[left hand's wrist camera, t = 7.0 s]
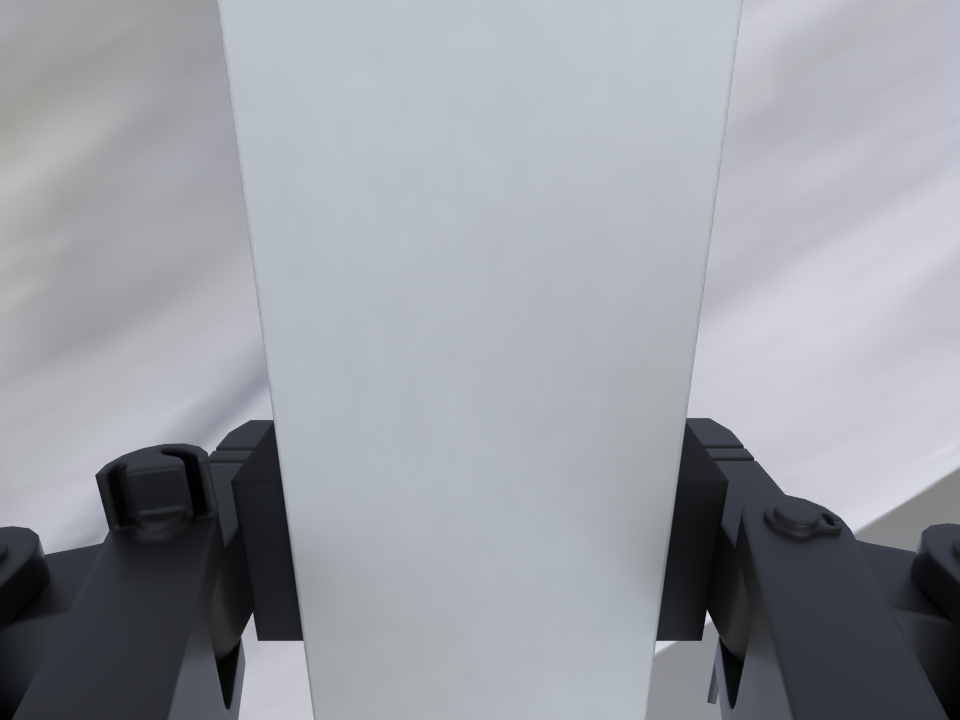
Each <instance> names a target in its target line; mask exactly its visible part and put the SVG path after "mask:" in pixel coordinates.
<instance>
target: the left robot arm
mask: <svg viewBox="0 0 960 720" xmlns="http://www.w3.org/2000/svg"><path fill="white" fill-rule="evenodd" d="M95 476H96V480H97V484H98V488H99V492H100V495H101V499H102V503H103V507H104V511H105V515H106V518H107V522H108V526H109V530H110V531H109V533H108V534H107V536H106V538H105V540H104V542H103V543H101V544H97V545H93V546H88V547H83V548H78V549H73V550H67V551H62V552H57V553H52V554H47V555H44V552H43V548H42V545H41V542H40V539H39V536H38V535H37V534H36V533H35V532H33V531H32V530H31V529H29V528H22V527H14V526H11V527H2V528H0V720H238V717H239V709H240V701H241V693H242V686H243V678H244V670H245V656H244V649H243V644H242V638H241V635H242V633H243V631H244V629H245V627H246V625H247V623H248V621H249V619H250V616H251V614H252V612H253V615H254V621H255V627H256V632H257V638H258V641H304V640H303V633H302V626H301V618H300V611H299V603H298V596H297V588H296V581H295V574H294V566H293V559H292V551H291V544H290V537H289V529H288V522H287V514H286V507H285V499H284V492H283V485H282V477H281V470H280V462H279V455H278V448H277V440H276V433H275V425H274V420H250V421H248V422H247V423H245V424H243V425H242V426H240V427H238V428H236V429H235V430H233V431H231V432H230V433H228V435H227V436H226V437H225V438H224V439H223V440H222V442H221V443H220V444H219V445H218V446H217V448H216V451H213V452H212V454H211V455H210V456H209V457H208V453H207V452H206V451H204V450H203V449H202V448H200V447H199V446H194V445H189V444H163V445H157V446H152V447H147V448H142V449H140V450H137V451H134V452H131V453H128V454H125V455H123V456H121V457H119V458H117V459H115V460H114V461H112V462H110V463H108V464H106V465H105V466H104V467H103V468H102V469H101V470H100V471H99V472H98V473H97V474H96V475H95ZM707 610H708V612H709V614H710V616H711V618H712V621H713V623H714V625H715V627H716V629H717V631H718V633H719V639H718V644H717V649H716V655H715V660H714V666H713V671H712V677H711V682H710V688H709V694H708V701H707V702H708V703H712V704H716V699H717V694H718V692H719V700H720V707H721V715H722V720H960V525H957V524H949V523H947V524H939V525H932V526H930V527H928V528H927V529H926V530H924V531H923V532H922V534H921V537H920V540H919V543H918V546H917V550H916V552H912V551H907V550H902V549H896V548H891V547H886V546H880V545H875V544H870V543H866V542H862V541H858V540H856V539H855V537H854V535H853V533H852V531H851V530H850V528H849V527H848V526H847V525H846V524H845V522H844V521H843V520H842V519H841V518H840V517H839V516H837V515H836V514H834V513H833V512H831V511H829V510H828V509H826V508H825V507H823V506H820V505H818V504H815V503H813V502H811V501H808V500H806V499H802V498H797V497H793V496H788V495H785V494H784V493H783V491H782V490H781V489H780V488H779V487H778V486H777V484H776V483H775V482H774V481H773V480H772V479H771V477H770V476H769V475H768V474H767V473H766V471H765V470H764V469H763V468H762V467H761V466H760V464H759V463H758V462H757V461H754V457H753V456H752V455H751V454H750V453H749V451H748V450H747V449H744V446H743V444H742V443H741V442H740V441H739V440H738V439H737V437H736V436H735V435H734V434H733V433H732V431H730V430H729V429H727V428H725V427H723V426H722V425H720V424H718V423H717V422H715V421H713V420H712V419H710V418H686V423H685V430H684V437H683V445H682V452H681V460H680V467H679V474H678V482H677V489H676V496H675V504H674V511H673V519H672V526H671V533H670V541H669V548H668V555H667V563H666V570H665V578H664V585H663V592H662V600H661V607H660V614H659V622H658V629H657V637H656V641H701V640H702V636H703V630H704V624H705V618H706V612H707Z"/></svg>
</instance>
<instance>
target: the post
mask: <svg viewBox="0 0 960 720" xmlns="http://www.w3.org/2000/svg"><path fill="white" fill-rule="evenodd" d="M217 2H218V10H219V17H220V25H221V32H222V39H223V47H224V54H225V62H226V69H227V77H228V84H229V91H230V99H231V106H232V114H233V121H234V129H235V136H236V143H237V151H238V158H239V166H240V173H241V180H242V188H243V195H244V203H245V210H246V218H247V225H248V232H249V240H250V247H251V255H252V262H253V269H254V277H255V284H256V292H257V299H258V307H259V314H260V321H261V329H262V336H263V344H264V351H265V358H266V366H267V373H268V381H269V388H270V396H271V403H272V410H273V418H274V425H275V433H276V440H277V448H278V455H279V462H280V470H281V477H282V485H283V492H284V499H285V507H286V514H287V522H288V529H289V537H290V544H291V551H292V559H293V566H294V574H295V581H296V588H297V596H298V603H299V611H300V618H301V626H302V633H303V640H304V648H305V655H306V663H307V670H308V678H309V685H310V692H311V700H312V707H313V715H314V720H645V717H646V710H647V703H648V696H649V688H650V681H651V673H652V666H653V659H654V651H655V644H656V637H657V629H658V622H659V614H660V607H661V600H662V592H663V585H664V578H665V570H666V563H667V555H668V548H669V541H670V533H671V526H672V519H673V511H674V504H675V496H676V489H677V482H678V474H679V467H680V460H681V452H682V445H683V437H684V430H685V423H686V415H687V408H688V401H689V393H690V386H691V378H692V371H693V364H694V356H695V349H696V342H697V334H698V327H699V319H700V312H701V305H702V297H703V290H704V283H705V275H706V268H707V260H708V253H709V246H710V238H711V231H712V224H713V216H714V209H715V201H716V194H717V187H718V179H719V172H720V165H721V157H722V150H723V142H724V135H725V128H726V120H727V113H728V106H729V98H730V91H731V84H732V76H733V69H734V61H735V54H736V47H737V39H738V32H739V25H740V17H741V10H742V2H743V0H217Z"/></svg>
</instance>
